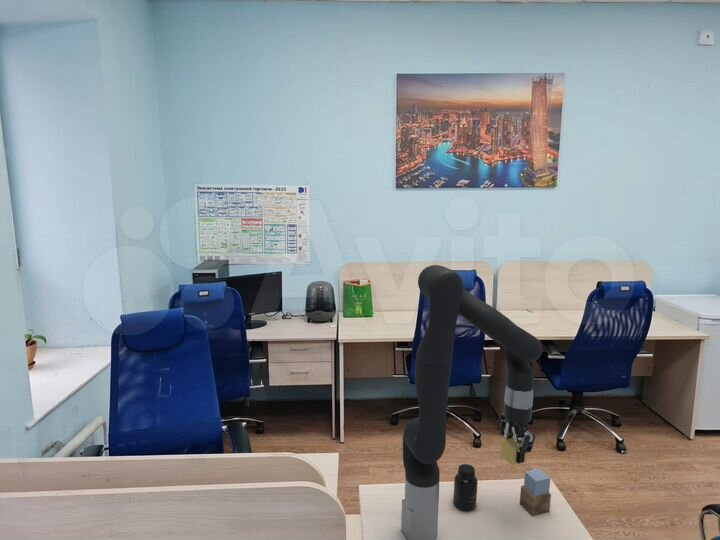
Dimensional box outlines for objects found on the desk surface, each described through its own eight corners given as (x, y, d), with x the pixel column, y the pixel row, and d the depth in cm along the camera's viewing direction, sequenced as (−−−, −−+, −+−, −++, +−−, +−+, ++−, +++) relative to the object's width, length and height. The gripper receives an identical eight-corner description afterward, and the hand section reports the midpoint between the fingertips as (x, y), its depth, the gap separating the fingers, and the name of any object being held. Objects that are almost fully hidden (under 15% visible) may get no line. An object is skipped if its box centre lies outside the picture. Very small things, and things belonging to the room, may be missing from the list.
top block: (511, 465, 140) (512, 448, 139) (501, 455, 144) (502, 439, 143) (526, 462, 141) (528, 445, 140) (515, 452, 146) (517, 436, 145)
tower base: (532, 516, 146) (533, 498, 145) (519, 503, 151) (521, 486, 150) (549, 512, 148) (551, 494, 147) (536, 499, 153) (537, 482, 152)
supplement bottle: (476, 513, 147) (478, 476, 145) (452, 510, 148) (454, 473, 146) (476, 498, 154) (477, 463, 151) (453, 495, 155) (455, 460, 153)
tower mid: (534, 496, 145) (536, 481, 144) (524, 486, 150) (525, 471, 149) (549, 493, 147) (550, 478, 146) (537, 483, 152) (539, 468, 151)
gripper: (492, 392, 145) (488, 446, 148) (523, 415, 132) (517, 473, 135) (514, 389, 147) (509, 442, 150) (546, 411, 134) (541, 469, 137)
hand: (513, 457), depth 143 cm, fingers closed on top block, 5 cm apart
